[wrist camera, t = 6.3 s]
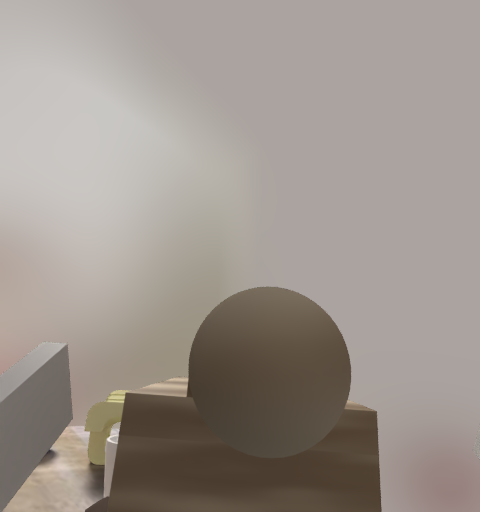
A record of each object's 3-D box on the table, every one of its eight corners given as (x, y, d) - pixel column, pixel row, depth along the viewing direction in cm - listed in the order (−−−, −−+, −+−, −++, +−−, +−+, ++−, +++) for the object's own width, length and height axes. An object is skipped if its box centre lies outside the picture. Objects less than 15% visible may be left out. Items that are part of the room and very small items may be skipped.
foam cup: (149, 501, 74) (157, 437, 78) (128, 520, 66) (138, 446, 69) (110, 495, 76) (120, 432, 80) (85, 512, 67) (97, 441, 71)
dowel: (374, 506, 7) (377, 278, 9) (143, 469, 8) (185, 253, 9) (270, 389, 35) (275, 338, 36) (221, 381, 35) (228, 331, 36)
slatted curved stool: (99, 444, 115) (108, 389, 120) (146, 445, 118) (153, 391, 123) (76, 474, 87) (89, 401, 92) (139, 475, 90) (149, 403, 95)
